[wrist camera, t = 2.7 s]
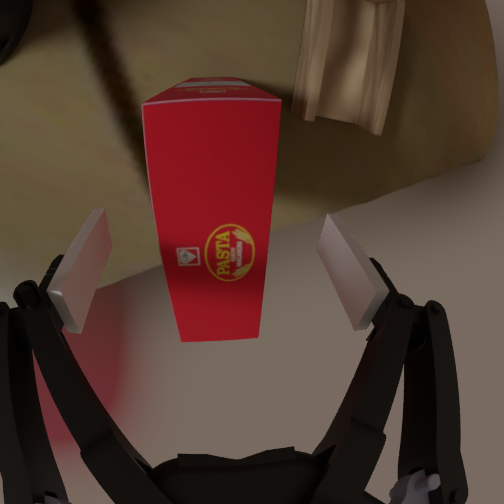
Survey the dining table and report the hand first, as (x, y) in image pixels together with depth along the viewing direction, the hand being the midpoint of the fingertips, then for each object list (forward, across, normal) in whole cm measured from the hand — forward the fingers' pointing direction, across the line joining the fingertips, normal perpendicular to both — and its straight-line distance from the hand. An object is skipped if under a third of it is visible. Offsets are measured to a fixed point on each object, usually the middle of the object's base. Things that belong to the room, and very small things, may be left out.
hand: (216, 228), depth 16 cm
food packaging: (+22, 0, 0) cm, 23 cm away
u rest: (+22, +15, +14) cm, 30 cm away
